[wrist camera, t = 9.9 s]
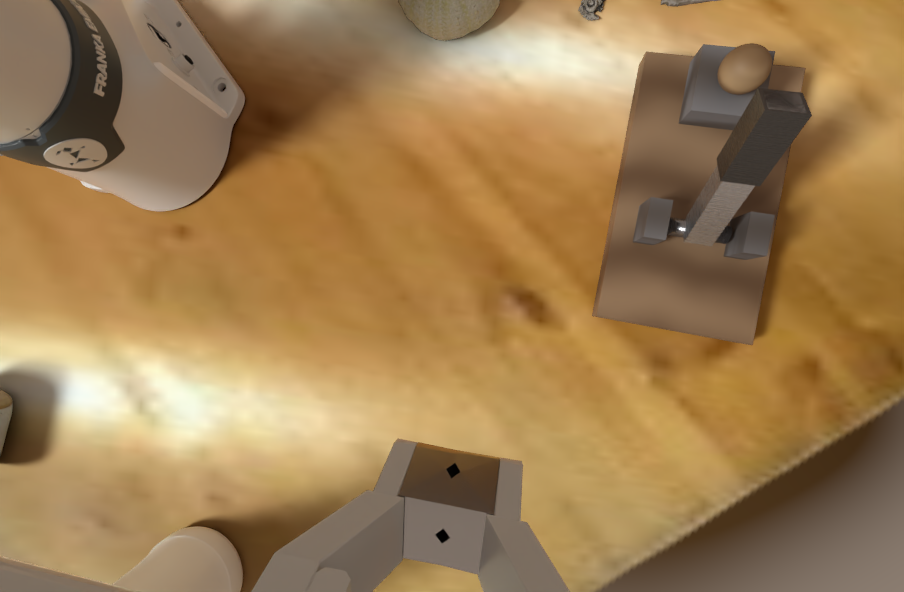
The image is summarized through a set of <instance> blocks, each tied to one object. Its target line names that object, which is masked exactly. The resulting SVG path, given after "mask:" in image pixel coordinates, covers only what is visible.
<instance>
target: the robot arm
mask: <svg viewBox="0 0 904 592" xmlns="http://www.w3.org/2000/svg"><path fill="white" fill-rule="evenodd" d="M224 87H226V89H225V90H224V91H223V88H224ZM244 103H245V96H244V93H243V91H242V90H241V88H240V87H239V86H238V84H237V83H236V81H235V80H234V79H233V77H232V76H231V75H230V73H229V72H228V70H227V69H226V68H225V66H224V65H223V63H222V62H221V61H220V59H219V58H218V56H217V55H216V54H215V52H214V51H213V50H212V48H211V47H210V45H209V44H208V43H207V41H206V40H205V38H204V37H203V36H202V34H201V33H200V31H199V30H198V29H197V27H196V26H195V25H194V23H193V22H192V20H191V19H190V18H189V16H188V15H187V13H186V12H185V11H184V9H183V8H182V6H181V5H180V4H179V2H178V1H177V0H0V155H1V156H3V155H4V156H7V157H10V158H13V159H17V160H20V161H23V162H27V163H30V164H34V165H39V166H45V167H48V168H50V169H53V170H55V171H58V172H60V173H63V174H65V175H68V176H70V177H73V178H75V179H78V180H80V181H81V183H82V184H83V185H84V186H86V187H88V188H90V189H93V190H95V191H99V192H105V193H112V194H114V195H116V196H118V197H120V198H122V199H124V200H126V201H128V202H130V203H131V204H133V205H135V206H137V207H140V208H143V209H146V210H151V211H169V210H174V209H178V208H181V207H184V206H186V205H188V204H190V203H192V202H193V201H195V200H196V199H198V198H199V197H201V196H202V195H203V194H204V193H205V192H206V191H207V190H208V189H209V188H210V187H211V186H212V184H213V183H214V182H215V180H216V179H217V177H218V176H219V174H220V172H221V170H222V168H223V166H224V164H225V161H226V158H227V155H228V150H229V145H230V138H231V132H232V128H233V125H234V123H235V122H236V120H237V118H238V116H239V115H240V113H241V111H242V108H243V106H244ZM522 471H523V464H522V461H518V460H512V459H506V458H499V457H493V456H487V455H481V454H476V453H470V452H464V451H457V450H453V449H448V448H443V447H438V446H433V445H429V444H424V443H419V442H418V443H416V442H412V441H407V440H402V439H397V440H396V441H395V443H394V444H393V447H392V449H391V451H390V454H389V456H388V458H387V461H386V463H385V465H384V467H383V470H382V472H381V474H380V477H379V479H378V481H377V484H376V486H375V488H374V490H373V491H369V490H366V491H365V492H363V493H362V494H361V495H359V496H358V497H356V498H355V499H353V500H352V501H350V502H349V503H347V504H346V505H344V506H343V507H341V508H340V509H338V510H337V511H335V512H334V513H332V514H331V515H329V516H328V517H327V518H325V519H324V520H322V521H321V522H319V523H318V524H316V525H315V526H313V527H312V528H310V529H309V530H307V531H306V532H304V533H303V534H301V535H300V536H298V537H297V538H295V539H294V540H293V541H291V542H290V543H288V544H287V545H285V546H284V547H282V548H281V549H279V550H278V551H276V552H275V553H274V555H273V556H272V558H271V560H270V561H269V563H268V565H267V566H266V568H265V570H264V571H263V573H262V575H261V576H260V578H259V580H258V581H257V583H256V585H255V586H254V588H253V590H252V591H251V592H372V591H373V590H374V589H375V588H376V587H377V586H378V585H379V584H380V583H381V582H382V581H383V580H384V579H385V578H386V577H387V576H388V575H389V574H390V573H391V571H392V570H393V569H394V568H395V567H396V566H397V565H398V564H399V563H400V562H401V561H402V558H406V559H411V560H417V561H422V562H427V563H433V564H438V565H442V566H446V567H450V568H454V569H458V570H462V571H466V572H470V573H474V574H478V578H479V580H480V583H481V586H482V588H483V591H484V592H570V591H569V589H568V588H567V586H566V584H565V583H564V581H563V580H562V578H561V576H560V575H559V573H558V572H557V570H556V568H555V567H554V565H553V563H552V562H551V560H550V559H549V557H548V555H547V554H546V552H545V551H544V549H543V547H542V546H541V544H540V542H539V541H538V539H537V538H536V536H535V534H534V533H533V531H532V530H531V528H530V526H529V525H528V523H527V522H523V521H520V518H521V495H522ZM0 592H140V591H136V590H132V589H128V588H124V587H120V586H116V585H112V584H109V583H105V582H101V581H97V580H93V579H89V578H85V577H81V576H77V575H73V574H69V573H65V572H62V571H58V570H54V569H50V568H46V567H42V566H38V565H34V564H30V563H26V562H22V561H18V560H15V559H11V558H7V557H3V556H0Z"/></svg>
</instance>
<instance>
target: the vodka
mask: <svg viewBox="0 0 904 592" xmlns="http://www.w3.org/2000/svg"><path fill="white" fill-rule="evenodd" d="M242 582H243V569H242V564H241V560H240V557H239V555H238V553H237V551H236V549H235V547H234V546H233V545H232V543H231V542H230V541H229V540H228V539H227V538H226V537H225V536H224V535H222V534H221V533H219V532H218V531H216V530H214V529H211V528H207V527H201V526H195V527H187V528H183V529H180V530H177V531H175V532H174V533H172V534H171V535H169V536H168V537H166V538H165V539H164V540H162V541H161V542H160V543H158V544H157V545H156V546H155V547H154V548H153V549H152V550H151V551H150V553H149V554H148V555H147V556H146V557H145V558H144V559H143V560H142V561H141V562H140V563H139V564H137V565H136V566H135V567H134V568H133V569H131V570H130V571H129V572H127V573H126V574H125V575H123V576H122V577H121V578H119V579H118V580H117V581H115V582H114V583H113V584H112V585H116V586H120V587H124V588H128V589H132V590H136V591H140V592H240V591H241V588H242Z"/></svg>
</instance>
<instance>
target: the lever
mask: <svg viewBox="0 0 904 592" xmlns="http://www.w3.org/2000/svg"><path fill="white" fill-rule="evenodd" d="M811 116H812V115H811V112H810V110H809V107H808V105H807V103H806V100H805V98H804V95H803V93H801V92H791V91H782V90H773V89H764V88H758V89H757V90H756V92H755V94H754V96H753V97H752V99H751V101H750V102H749V104H748V106H747V107H746V109H745V111H744V113H743V114H742V116H741V118H740V119H739V121H738V123H737V125H736V126H735V128H734V130H733V131H732V133H731V135H730V136H729V138H728V140H727V142H726V143H725V145H724V147H723V148H722V150H721V152H720V154H719V155H718V157H717V159H716V160H717V166H716V168H715V169H714V171H713V173H712V174H711V176H710V178H709V179H708V181H707V183H706V185H705V186H704V188H703V190H702V191H701V193H700V195H699V196H698V198H697V200H696V201H695V203H694V205H693V206H692V208H691V210H690V211H689V213H688V215H687V216H686V218H685V219H679V218H673V217H670V221H669V226H668V232H667V235H669V236H676V237H682V238H684V242H685V243H692V244H698V245H704V246H711V247H712V245H713V244H714V243H721V244H727V243H728V242H729V240H730V238H731V235H732V227H731V226H727V224H728V223H729V222H730V220H731V219H732V217H733V216H734V215H735V213H736V212H737V210H738V209H739V208H740V206H741V205H742V203H743V202H744V201H745V199H746V198H747V197H748V195H749V194H750V192H751V191H752V190H753V188H754V187H755V186H761V184H762V183H763V181H764V180H765V179H766V177H767V176H768V175H769V173H770V172H771V170H772V169H773V168H774V166H775V165H776V164H777V162H778V161H779V160H780V158H781V157H782V155H783V154H784V153H785V151H786V150H787V149H788V147H789V146H790V144H791V143H792V142H793V140H794V139H795V138H796V136H797V135H798V133H799V132H800V131H801V129H802V128H803V127H804V125H805V124H806V123H807V121H808V120H809V118H810V117H811Z"/></svg>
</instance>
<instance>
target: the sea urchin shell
mask: <svg viewBox="0 0 904 592" xmlns="http://www.w3.org/2000/svg"><path fill="white" fill-rule="evenodd" d="M398 2H399V3H400V5H401V7H402V9H403V11H404V12H405V15H406V17H407V18H408V19H409V20H411V21H412V22H413V23H414V25H415V26H416V27H417V28H418V29H419V30H420V32H421V31H422V32H423V33H424V34H427V35H428V36H430V37H432V38H434V39H436V40H445V41H447V40H452V39H455V38H459V37H461V38H462V37H463V36H465V35H466V34H468V33H469V32H471V31H474V30H476V29H479V28H480V27H481V26H482V25H483V24H484V23H485V22H487V21H488V20H489V19H491V18H492V16H493V15H494V13H495V11H496V9H497V8H498V6H499V2H500V0H398Z"/></svg>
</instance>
